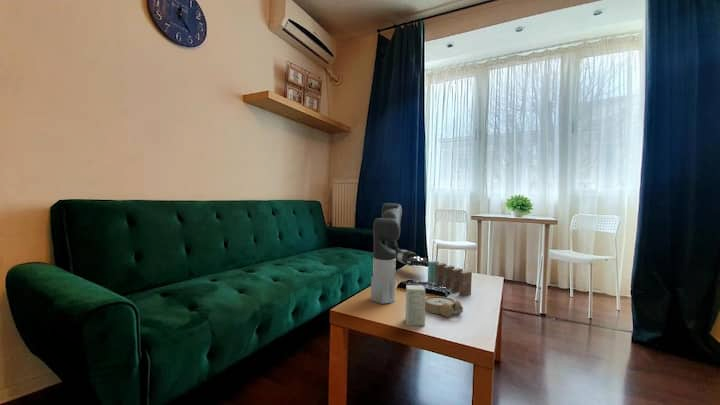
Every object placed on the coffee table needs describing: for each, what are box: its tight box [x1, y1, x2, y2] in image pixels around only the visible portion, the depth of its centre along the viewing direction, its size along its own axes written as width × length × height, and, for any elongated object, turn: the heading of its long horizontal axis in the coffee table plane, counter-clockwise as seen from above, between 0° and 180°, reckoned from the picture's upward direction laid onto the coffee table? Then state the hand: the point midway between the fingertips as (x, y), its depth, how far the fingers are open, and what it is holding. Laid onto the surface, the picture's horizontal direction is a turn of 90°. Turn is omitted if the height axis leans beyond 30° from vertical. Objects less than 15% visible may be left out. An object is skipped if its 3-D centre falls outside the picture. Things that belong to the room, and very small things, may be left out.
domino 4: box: [458, 270, 473, 297], centre depth 123 cm, size 2×5×10 cm, turn 118°
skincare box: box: [405, 284, 426, 326], centre depth 95 cm, size 6×4×12 cm
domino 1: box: [434, 262, 447, 286], centre depth 137 cm, size 2×5×10 cm, turn 118°
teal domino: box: [427, 260, 440, 284], centre depth 141 cm, size 2×5×10 cm, turn 118°
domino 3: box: [450, 267, 464, 293], centre depth 128 cm, size 2×5×10 cm, turn 118°
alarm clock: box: [425, 295, 464, 318], centre depth 106 cm, size 11×5×15 cm
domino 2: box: [442, 264, 455, 289], centre depth 132 cm, size 2×5×10 cm, turn 118°
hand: (428, 264), depth 144 cm, fingers closed
